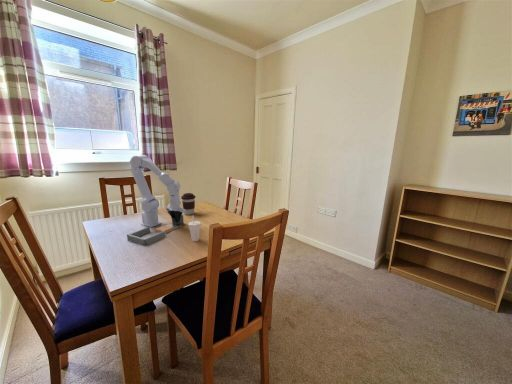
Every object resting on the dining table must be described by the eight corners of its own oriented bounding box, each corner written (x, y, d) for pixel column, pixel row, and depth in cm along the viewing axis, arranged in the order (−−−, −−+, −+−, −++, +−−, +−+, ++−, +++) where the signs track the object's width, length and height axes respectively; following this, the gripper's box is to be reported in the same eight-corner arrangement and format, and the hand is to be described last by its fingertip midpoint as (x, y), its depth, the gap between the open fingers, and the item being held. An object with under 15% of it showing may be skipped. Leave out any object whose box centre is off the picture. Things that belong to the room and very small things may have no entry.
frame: (127, 239, 115) (126, 234, 114) (148, 231, 126) (148, 226, 126) (145, 245, 109) (144, 240, 108) (165, 236, 121) (165, 231, 120)
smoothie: (190, 237, 119) (189, 213, 116) (202, 237, 120) (201, 213, 117) (188, 242, 113) (186, 217, 110) (200, 242, 114) (199, 217, 111)
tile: (155, 232, 127) (155, 228, 126) (164, 228, 133) (164, 225, 132) (163, 234, 124) (163, 231, 123) (173, 230, 130) (173, 227, 129)
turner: (177, 221, 143) (177, 214, 141) (186, 223, 139) (186, 215, 138) (164, 227, 133) (163, 219, 132) (173, 229, 130) (173, 221, 128)
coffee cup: (198, 212, 163) (197, 193, 160) (190, 216, 154) (189, 196, 151) (187, 210, 166) (186, 192, 163) (179, 214, 157) (178, 194, 154)
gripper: (161, 201, 133) (162, 221, 136) (178, 204, 126) (180, 225, 129) (170, 198, 139) (171, 218, 142) (187, 201, 133) (188, 222, 136)
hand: (176, 221), depth 136 cm, fingers closed on turner, 2 cm apart
